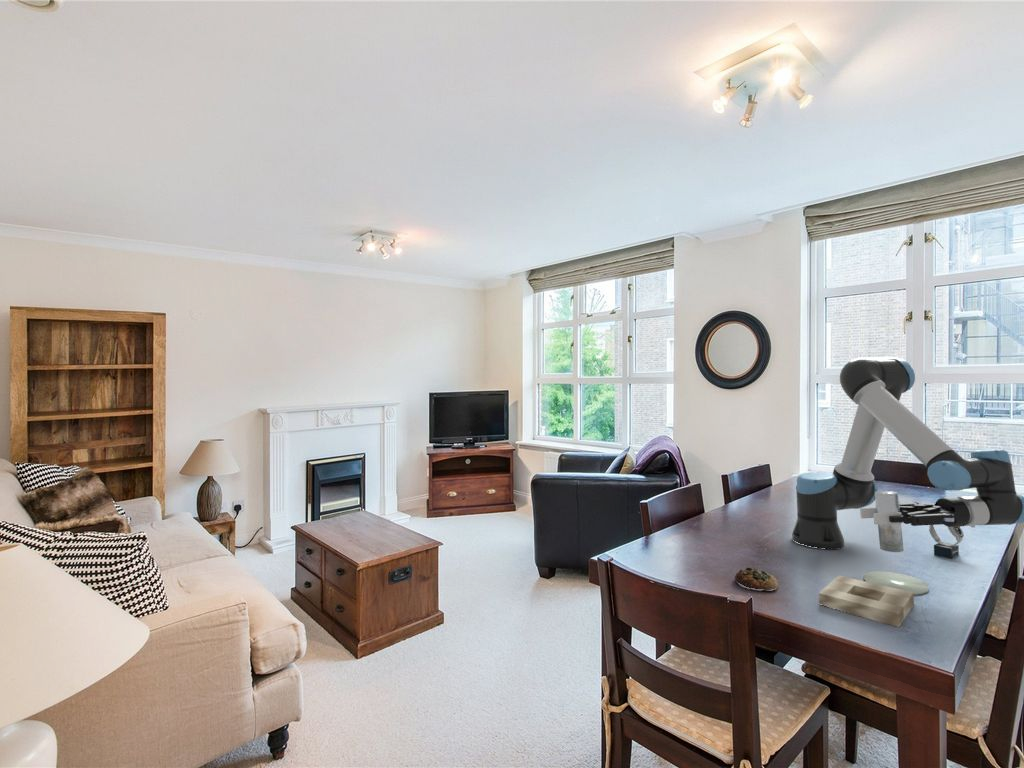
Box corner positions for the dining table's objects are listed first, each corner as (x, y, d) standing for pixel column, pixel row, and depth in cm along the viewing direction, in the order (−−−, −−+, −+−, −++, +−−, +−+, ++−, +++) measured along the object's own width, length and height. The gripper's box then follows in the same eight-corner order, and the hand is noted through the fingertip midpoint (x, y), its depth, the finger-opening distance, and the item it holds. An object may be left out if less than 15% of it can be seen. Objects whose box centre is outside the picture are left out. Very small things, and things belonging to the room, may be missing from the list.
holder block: (819, 605, 125) (818, 593, 125) (839, 586, 136) (838, 575, 136) (899, 627, 113) (898, 613, 113) (913, 604, 124) (913, 592, 124)
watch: (959, 560, 152) (958, 524, 152) (927, 553, 159) (926, 518, 159) (967, 556, 154) (966, 521, 154) (934, 549, 161) (933, 515, 161)
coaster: (857, 584, 137) (857, 581, 137) (871, 570, 146) (871, 567, 146) (923, 599, 126) (923, 596, 126) (933, 583, 136) (933, 580, 136)
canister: (877, 549, 134) (872, 493, 135) (883, 545, 137) (877, 490, 138) (900, 553, 130) (895, 495, 131) (905, 548, 134) (900, 491, 134)
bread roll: (727, 584, 139) (728, 566, 139) (743, 578, 147) (744, 561, 147) (770, 598, 131) (771, 578, 131) (785, 591, 139) (786, 572, 139)
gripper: (990, 536, 124) (891, 540, 126) (934, 516, 142) (848, 520, 144) (988, 505, 124) (889, 510, 126) (933, 489, 142) (846, 494, 144)
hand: (867, 516), depth 135 cm, fingers closed on canister, 5 cm apart
